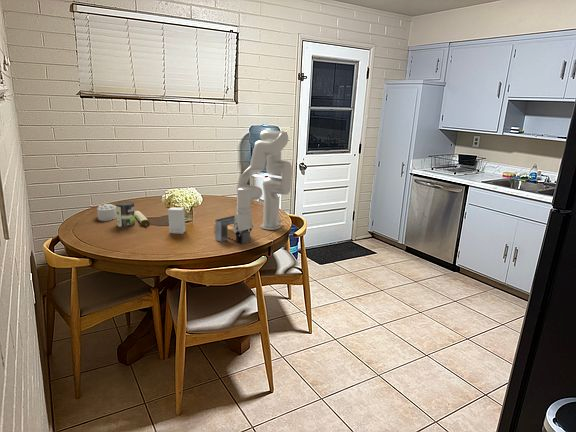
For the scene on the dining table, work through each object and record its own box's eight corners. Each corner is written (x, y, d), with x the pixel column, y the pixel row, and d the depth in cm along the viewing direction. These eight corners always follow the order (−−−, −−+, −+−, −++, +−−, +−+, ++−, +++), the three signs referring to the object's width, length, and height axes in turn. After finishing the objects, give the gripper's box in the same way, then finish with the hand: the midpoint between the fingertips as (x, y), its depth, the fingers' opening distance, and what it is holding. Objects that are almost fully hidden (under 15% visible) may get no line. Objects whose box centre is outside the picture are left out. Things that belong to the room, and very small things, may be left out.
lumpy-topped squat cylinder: (117, 215, 259) (116, 203, 256) (113, 221, 246) (112, 207, 244) (100, 215, 257) (99, 203, 254) (95, 221, 244) (94, 207, 242)
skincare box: (185, 231, 234) (185, 207, 230) (183, 234, 228) (182, 209, 224) (171, 230, 234) (170, 206, 230) (168, 234, 228) (167, 209, 224)
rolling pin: (151, 228, 236) (150, 221, 235) (141, 230, 233) (141, 221, 232) (140, 215, 263) (140, 208, 261) (131, 216, 260) (131, 209, 258)
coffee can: (138, 224, 243) (137, 202, 239) (129, 229, 233) (127, 205, 229) (123, 222, 245) (122, 200, 241) (113, 227, 235) (111, 204, 231)
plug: (220, 231, 237) (220, 221, 236) (249, 242, 221) (250, 231, 220) (213, 233, 234) (213, 223, 232) (243, 244, 217) (243, 233, 216)
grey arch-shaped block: (240, 233, 236) (240, 213, 233) (246, 235, 233) (246, 215, 230) (215, 239, 222) (215, 219, 219) (221, 242, 219) (221, 221, 216)
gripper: (250, 206, 225) (249, 236, 230) (227, 211, 212) (227, 242, 217) (259, 209, 220) (258, 239, 225) (236, 213, 208) (236, 246, 212)
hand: (243, 240), depth 221 cm, fingers closed on plug, 5 cm apart
